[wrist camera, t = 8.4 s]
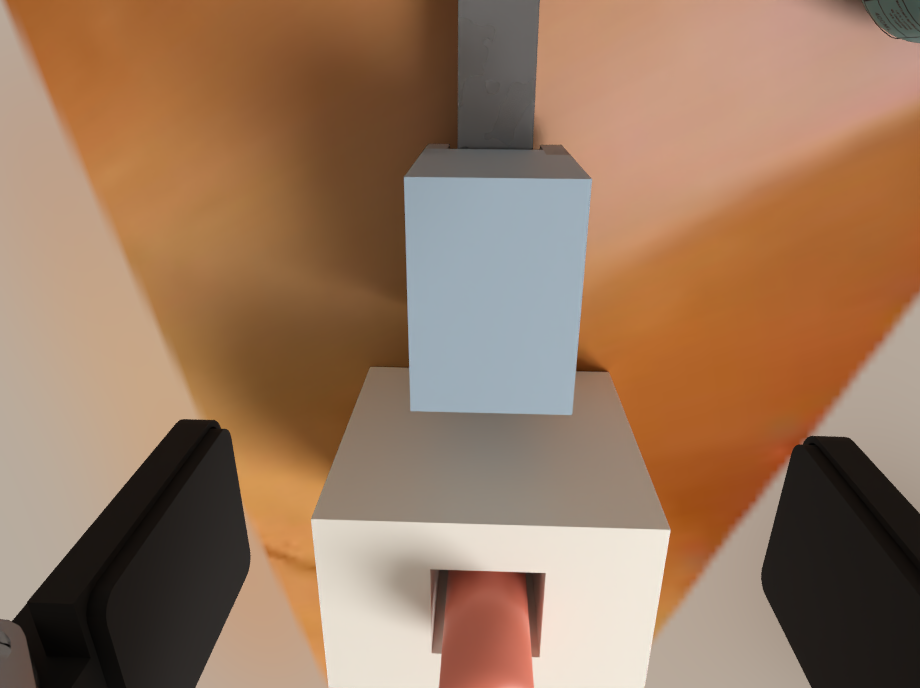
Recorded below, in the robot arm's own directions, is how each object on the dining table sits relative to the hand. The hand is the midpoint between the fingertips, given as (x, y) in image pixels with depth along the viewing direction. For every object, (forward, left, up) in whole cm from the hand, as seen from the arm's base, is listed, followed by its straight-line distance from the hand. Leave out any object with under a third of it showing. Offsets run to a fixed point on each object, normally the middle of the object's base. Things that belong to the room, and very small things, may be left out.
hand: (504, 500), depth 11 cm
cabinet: (+11, 0, -21) cm, 24 cm away
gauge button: (+11, 0, -12) cm, 17 cm away
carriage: (0, 0, -19) cm, 20 cm away
